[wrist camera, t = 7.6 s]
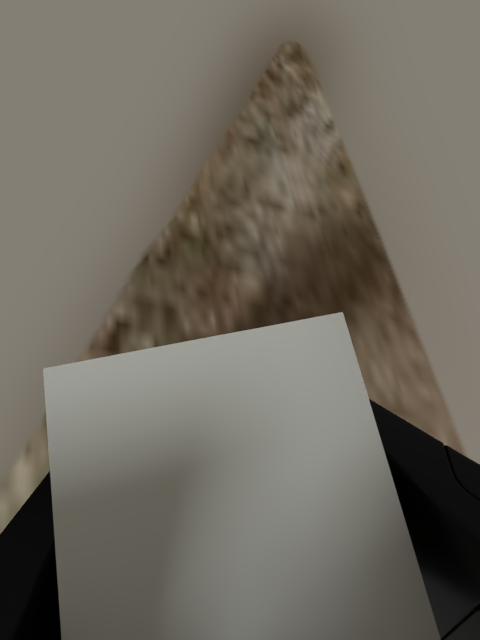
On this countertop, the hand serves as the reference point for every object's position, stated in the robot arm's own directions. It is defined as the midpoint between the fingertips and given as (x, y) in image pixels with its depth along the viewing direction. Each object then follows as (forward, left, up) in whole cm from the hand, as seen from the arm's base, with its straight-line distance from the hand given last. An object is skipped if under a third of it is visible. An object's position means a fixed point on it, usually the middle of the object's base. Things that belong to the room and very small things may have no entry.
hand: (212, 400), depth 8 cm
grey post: (-1, +1, -7) cm, 7 cm away
